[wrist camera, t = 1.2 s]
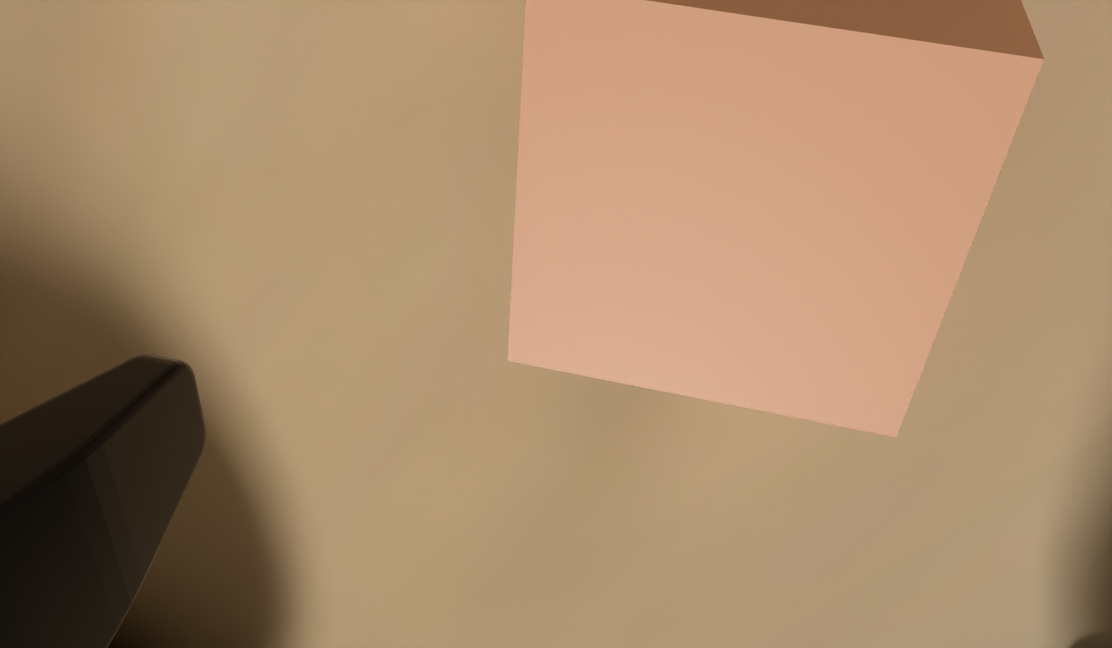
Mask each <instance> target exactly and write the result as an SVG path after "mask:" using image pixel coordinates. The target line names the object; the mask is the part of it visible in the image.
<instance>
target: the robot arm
mask: <svg viewBox="0 0 1112 648" xmlns="http://www.w3.org/2000/svg"><path fill="white" fill-rule="evenodd" d="M205 433H206V431H205V423H204V419H203V414H202V409H201V404H200V400H199V395H198V390H197V385H196V380H195V376H194V373H193V370H192V369H191V367H190V366H189V365H188V364H187V363H185V362H183V361H180V360H175V359H170V358H165V357H160V356H155V355H151V354H143V355H139V356H137V357H134V358H132V359H130V360H128V361H126V362H124V363H122V364H120V365H118V366H116V367H114V368H112V369H110V370H108V371H106V372H104V373H102V374H100V375H98V376H96V377H94V378H92V379H90V380H88V381H86V382H84V383H82V384H80V385H78V386H76V387H74V388H72V389H70V390H68V391H66V392H64V393H62V394H60V395H58V396H56V397H54V398H52V399H50V400H48V401H46V402H44V403H42V404H40V405H38V406H36V407H34V408H32V409H30V410H28V411H26V412H24V413H22V414H20V415H18V416H16V417H14V418H12V419H10V420H8V421H6V422H4V423H2V424H0V648H107V647H108V646H109V644H110V642H111V641H112V639H113V637H114V636H115V634H116V632H117V631H118V629H119V627H120V625H121V624H122V622H123V620H124V618H125V616H126V615H127V613H128V611H129V609H130V608H131V606H132V604H133V602H134V600H135V598H136V596H137V594H138V592H139V590H140V588H141V586H142V584H143V582H144V580H145V577H146V575H147V573H148V571H149V569H150V567H151V564H152V562H153V560H154V558H155V556H156V553H157V551H158V549H159V547H160V545H161V542H162V540H163V538H164V536H165V534H166V532H167V529H168V527H169V525H170V523H171V521H172V518H173V516H174V514H175V512H176V510H177V507H178V505H179V503H180V501H181V499H182V497H183V494H184V492H185V490H186V488H187V486H188V483H189V481H190V479H191V477H192V475H193V472H194V470H195V468H196V466H197V464H198V462H199V459H200V457H201V454H202V452H203V448H204V444H205Z"/></svg>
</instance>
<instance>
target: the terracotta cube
mask: <svg viewBox="0 0 1112 648" xmlns="http://www.w3.org/2000/svg"><path fill="white" fill-rule="evenodd" d="M1043 61H1044V58H1043V55H1042V52H1041V50H1040V47H1039V45H1038V42H1037V40H1036V37H1035V35H1034V32H1033V30H1032V27H1031V24H1030V22H1029V19H1028V17H1027V14H1026V12H1025V9H1024V7H1023V4H1022V2H1021V0H526V3H525V23H524V43H523V63H522V83H521V103H520V123H519V143H518V163H517V183H516V203H515V223H514V243H513V263H512V283H511V303H510V323H509V343H508V361H512V362H517V363H522V364H527V365H532V366H537V367H542V368H548V369H553V370H558V371H563V372H568V373H573V374H578V375H583V376H588V377H593V378H598V379H603V380H608V381H613V382H618V383H623V384H628V385H634V386H639V387H644V388H649V389H654V390H659V391H664V392H669V393H674V394H679V395H684V396H689V397H694V398H699V399H704V400H709V401H714V402H719V403H725V404H730V405H735V406H740V407H745V408H750V409H755V410H760V411H765V412H770V413H775V414H780V415H785V416H790V417H795V418H800V419H805V420H811V421H816V422H821V423H826V424H831V425H836V426H841V427H846V428H851V429H856V430H861V431H866V432H871V433H876V434H881V435H886V436H891V437H897V434H898V432H899V429H900V427H901V424H902V421H903V419H904V416H905V414H906V411H907V409H908V406H909V404H910V401H911V398H912V396H913V393H914V391H915V388H916V386H917V383H918V381H919V378H920V375H921V373H922V370H923V368H924V365H925V363H926V360H927V358H928V355H929V352H930V350H931V347H932V345H933V342H934V340H935V337H936V335H937V332H938V329H939V327H940V324H941V322H942V319H943V317H944V314H945V312H946V309H947V306H948V304H949V301H950V299H951V296H952V294H953V291H954V289H955V286H956V283H957V281H958V278H959V276H960V273H961V271H962V268H963V266H964V263H965V260H966V258H967V255H968V253H969V250H970V248H971V245H972V243H973V240H974V237H975V235H976V232H977V230H978V227H979V225H980V222H981V220H982V217H983V214H984V212H985V209H986V207H987V204H988V202H989V199H990V197H991V194H992V191H993V189H994V186H995V184H996V181H997V179H998V176H999V174H1000V171H1001V168H1002V166H1003V163H1004V161H1005V158H1006V156H1007V153H1008V151H1009V148H1010V145H1011V143H1012V140H1013V138H1014V135H1015V133H1016V130H1017V128H1018V125H1019V122H1020V120H1021V117H1022V115H1023V112H1024V110H1025V107H1026V105H1027V102H1028V99H1029V97H1030V94H1031V92H1032V89H1033V87H1034V84H1035V82H1036V79H1037V76H1038V74H1039V71H1040V69H1041V66H1042V64H1043Z"/></svg>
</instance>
